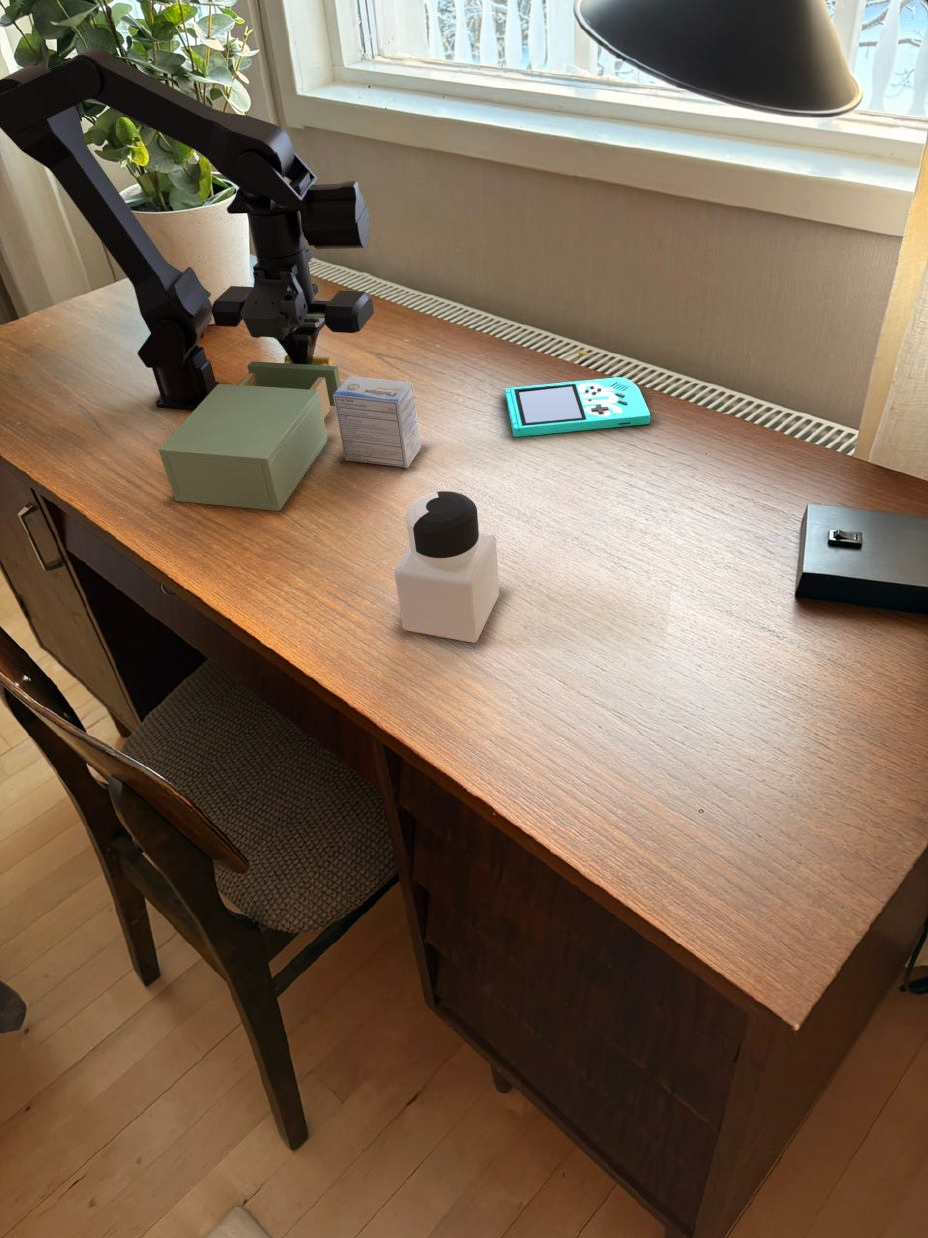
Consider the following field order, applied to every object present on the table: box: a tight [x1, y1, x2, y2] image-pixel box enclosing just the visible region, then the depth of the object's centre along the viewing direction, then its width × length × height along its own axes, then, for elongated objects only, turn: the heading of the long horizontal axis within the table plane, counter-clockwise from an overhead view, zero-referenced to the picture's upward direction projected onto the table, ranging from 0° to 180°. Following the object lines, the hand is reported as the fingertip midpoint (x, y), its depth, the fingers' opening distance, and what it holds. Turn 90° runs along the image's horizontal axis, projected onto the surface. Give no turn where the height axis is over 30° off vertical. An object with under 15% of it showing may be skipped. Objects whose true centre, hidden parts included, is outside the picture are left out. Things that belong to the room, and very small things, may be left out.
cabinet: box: [158, 383, 329, 512], centre depth 106 cm, size 15×13×7 cm
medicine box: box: [333, 375, 422, 469], centre depth 105 cm, size 8×4×9 cm, turn 70°
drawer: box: [237, 354, 342, 419], centre depth 113 cm, size 18×11×5 cm, turn 165°
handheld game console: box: [504, 376, 651, 438], centre depth 112 cm, size 10×16×1 cm, turn 94°
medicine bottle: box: [394, 490, 500, 644], centre depth 83 cm, size 7×7×12 cm
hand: (305, 374), depth 118 cm, fingers closed
